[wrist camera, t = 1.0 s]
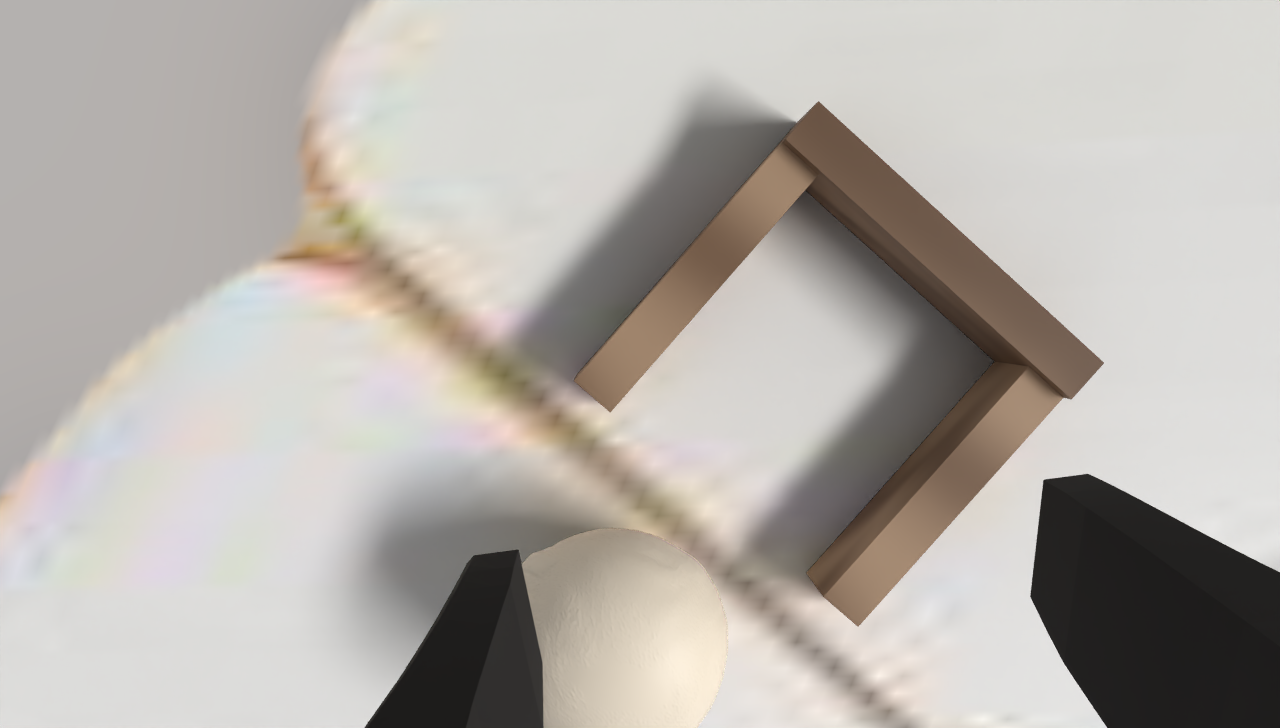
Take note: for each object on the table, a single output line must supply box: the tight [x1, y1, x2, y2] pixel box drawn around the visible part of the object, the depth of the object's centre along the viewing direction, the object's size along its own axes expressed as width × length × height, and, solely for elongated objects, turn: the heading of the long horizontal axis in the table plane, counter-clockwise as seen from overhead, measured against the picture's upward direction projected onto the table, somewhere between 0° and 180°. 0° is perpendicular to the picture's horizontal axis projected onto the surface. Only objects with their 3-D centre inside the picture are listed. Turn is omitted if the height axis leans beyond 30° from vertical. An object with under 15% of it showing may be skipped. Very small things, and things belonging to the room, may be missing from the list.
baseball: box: [522, 528, 728, 728], centre depth 27 cm, size 7×7×7 cm
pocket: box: [574, 101, 1104, 626], centre depth 29 cm, size 11×12×3 cm
